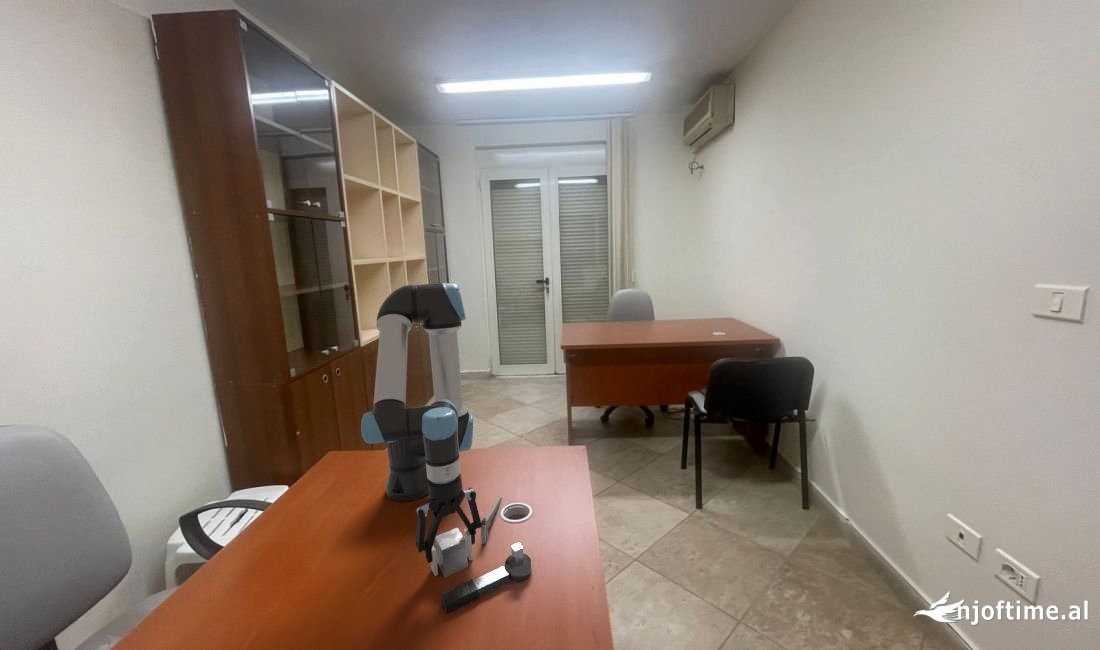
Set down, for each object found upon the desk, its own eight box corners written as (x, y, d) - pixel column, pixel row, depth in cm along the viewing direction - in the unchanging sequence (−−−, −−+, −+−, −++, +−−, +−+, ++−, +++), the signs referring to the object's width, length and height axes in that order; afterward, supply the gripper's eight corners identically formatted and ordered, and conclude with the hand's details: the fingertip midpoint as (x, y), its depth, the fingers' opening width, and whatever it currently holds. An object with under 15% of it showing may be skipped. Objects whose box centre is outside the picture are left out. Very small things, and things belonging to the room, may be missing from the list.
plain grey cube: (437, 562, 98) (434, 536, 97) (459, 552, 101) (457, 527, 100) (444, 577, 94) (442, 550, 92) (467, 566, 96) (465, 540, 95)
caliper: (485, 546, 104) (484, 523, 102) (481, 546, 104) (479, 523, 103) (502, 498, 124) (500, 479, 123) (498, 498, 124) (497, 479, 123)
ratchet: (439, 598, 88) (437, 571, 87) (523, 558, 98) (522, 534, 97) (448, 618, 83) (446, 590, 82) (536, 574, 93) (534, 549, 92)
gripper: (401, 499, 85) (411, 594, 89) (492, 469, 96) (498, 555, 99) (393, 483, 91) (404, 572, 95) (480, 456, 102) (486, 538, 106)
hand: (452, 563), depth 97 cm, fingers open, 8 cm apart
